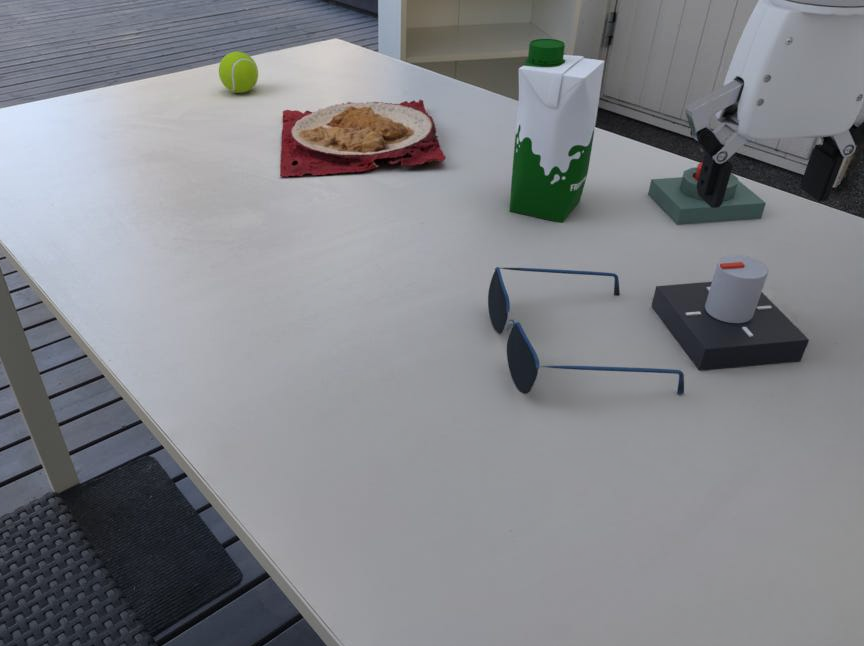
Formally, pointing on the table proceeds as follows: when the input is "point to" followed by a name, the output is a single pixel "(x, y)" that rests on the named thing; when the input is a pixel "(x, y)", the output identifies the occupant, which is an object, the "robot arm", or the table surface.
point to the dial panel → (727, 330)
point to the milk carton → (553, 130)
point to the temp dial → (736, 288)
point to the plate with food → (357, 138)
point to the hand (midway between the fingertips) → (760, 198)
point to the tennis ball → (238, 72)
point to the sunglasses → (519, 346)
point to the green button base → (690, 208)
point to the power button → (698, 171)
